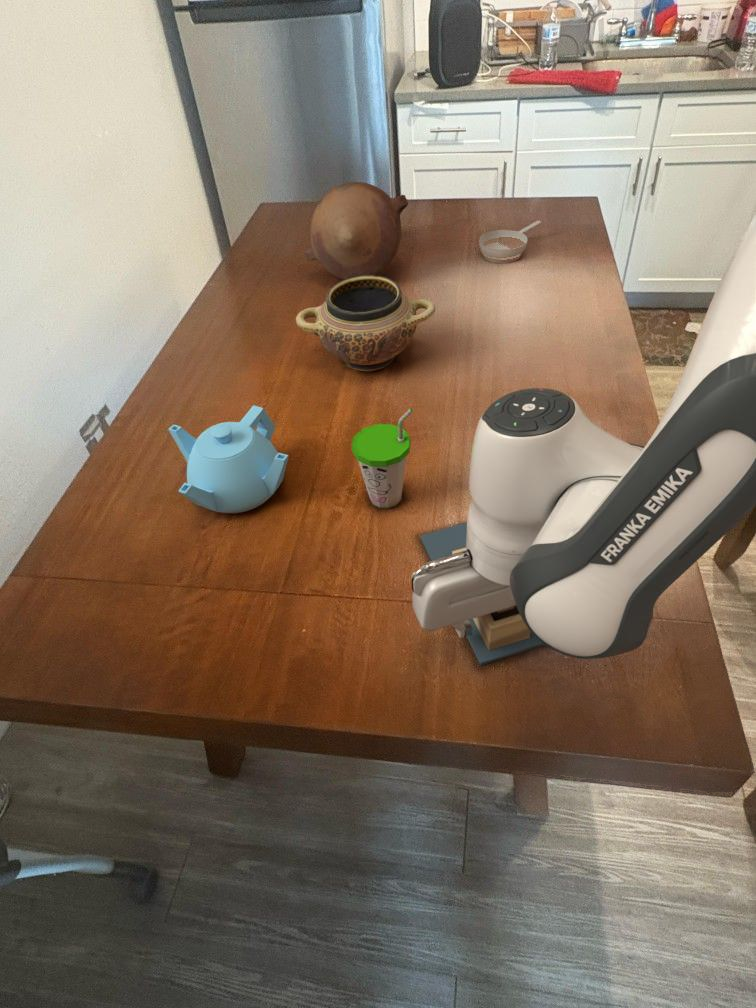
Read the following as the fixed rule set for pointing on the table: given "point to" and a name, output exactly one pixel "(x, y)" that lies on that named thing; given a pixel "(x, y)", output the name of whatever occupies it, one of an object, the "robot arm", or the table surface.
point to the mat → (440, 547)
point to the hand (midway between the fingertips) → (502, 619)
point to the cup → (383, 460)
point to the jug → (356, 230)
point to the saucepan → (503, 251)
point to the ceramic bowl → (365, 321)
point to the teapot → (232, 463)
